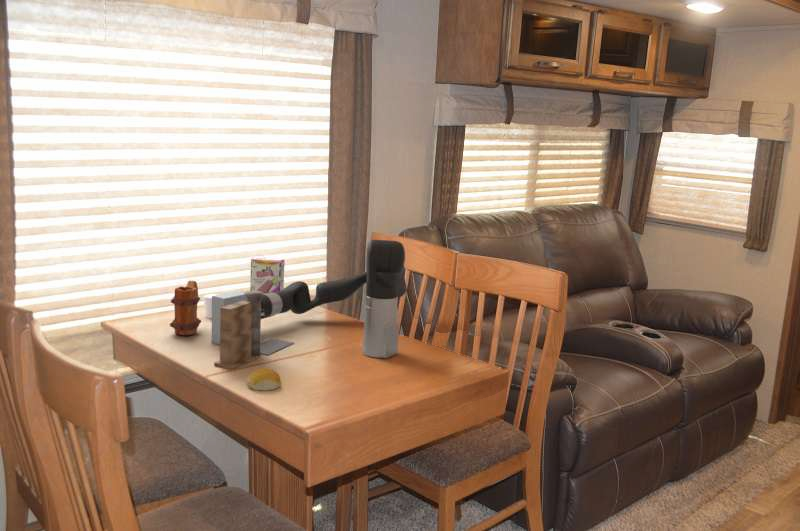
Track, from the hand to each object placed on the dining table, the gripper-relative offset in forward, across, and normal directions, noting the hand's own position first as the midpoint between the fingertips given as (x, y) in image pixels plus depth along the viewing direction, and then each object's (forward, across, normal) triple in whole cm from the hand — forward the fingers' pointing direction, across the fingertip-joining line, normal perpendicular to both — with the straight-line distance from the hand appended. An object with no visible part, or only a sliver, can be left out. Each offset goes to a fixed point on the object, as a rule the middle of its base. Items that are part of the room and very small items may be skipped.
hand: (223, 315), depth 220 cm
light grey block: (-3, 0, -8) cm, 9 cm away
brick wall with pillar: (+8, -15, -8) cm, 19 cm away
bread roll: (+19, -34, -9) cm, 40 cm away
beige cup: (-19, +24, -8) cm, 31 cm away
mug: (-1, +16, -8) cm, 18 cm away
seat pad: (-6, -13, -8) cm, 16 cm away
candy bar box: (-44, +24, -8) cm, 50 cm away
